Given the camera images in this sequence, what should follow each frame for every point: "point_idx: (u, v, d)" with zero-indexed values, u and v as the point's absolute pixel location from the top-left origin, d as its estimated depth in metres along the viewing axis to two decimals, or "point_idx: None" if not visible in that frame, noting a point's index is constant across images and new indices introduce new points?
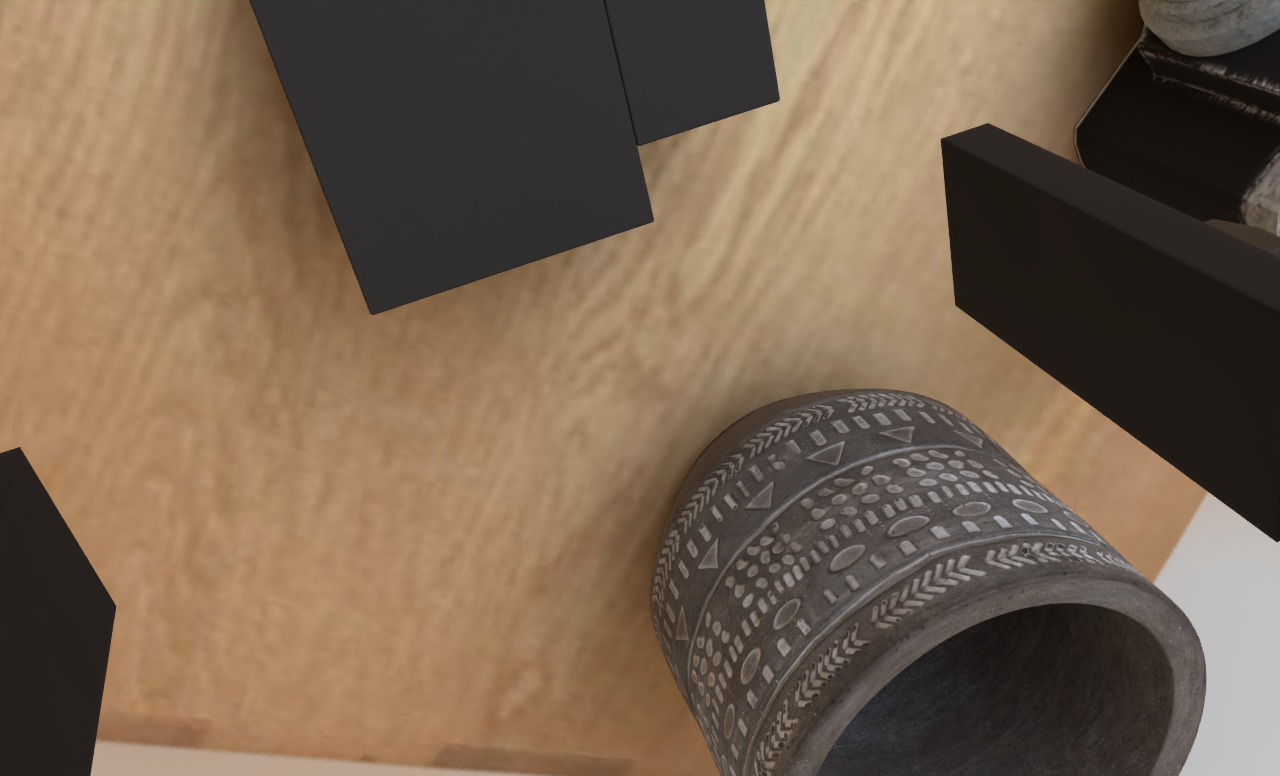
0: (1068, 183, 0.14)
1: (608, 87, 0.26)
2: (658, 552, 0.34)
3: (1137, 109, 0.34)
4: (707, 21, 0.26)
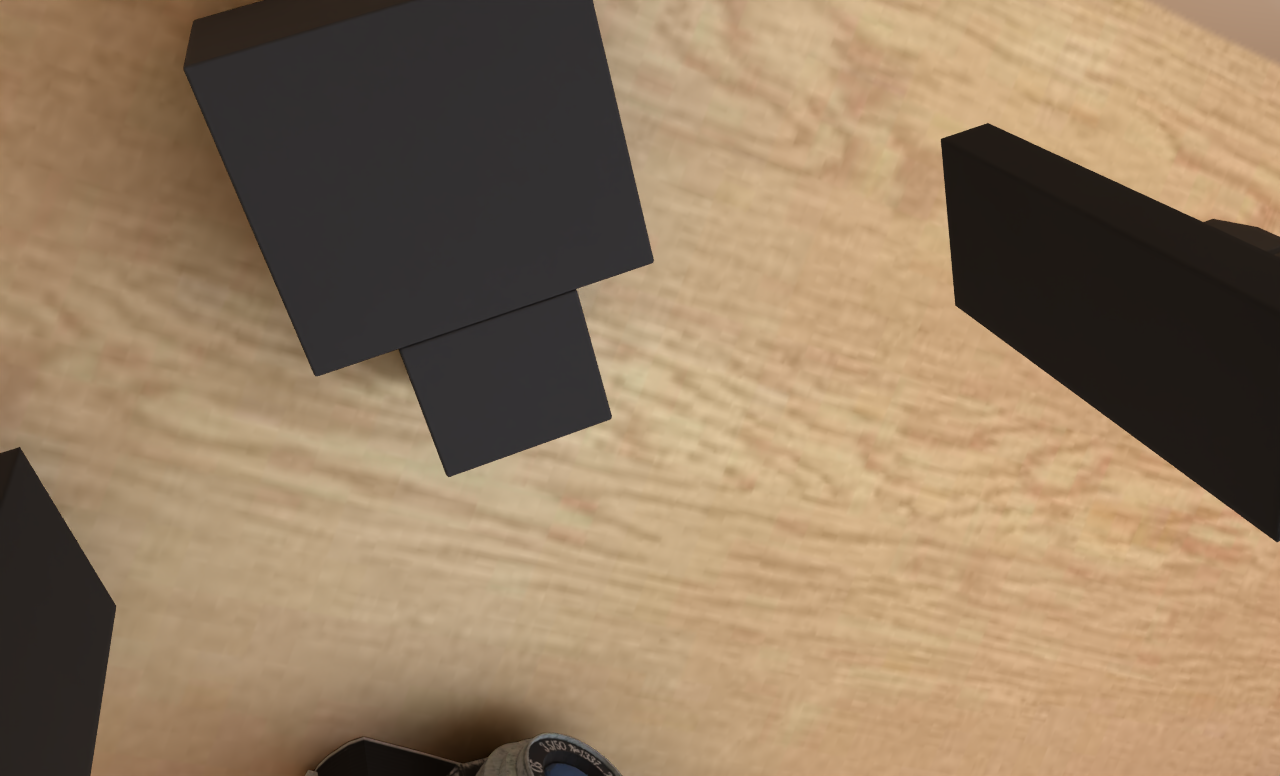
0: (1068, 183, 0.14)
1: (460, 314, 0.26)
2: None
3: None
4: (522, 397, 0.27)
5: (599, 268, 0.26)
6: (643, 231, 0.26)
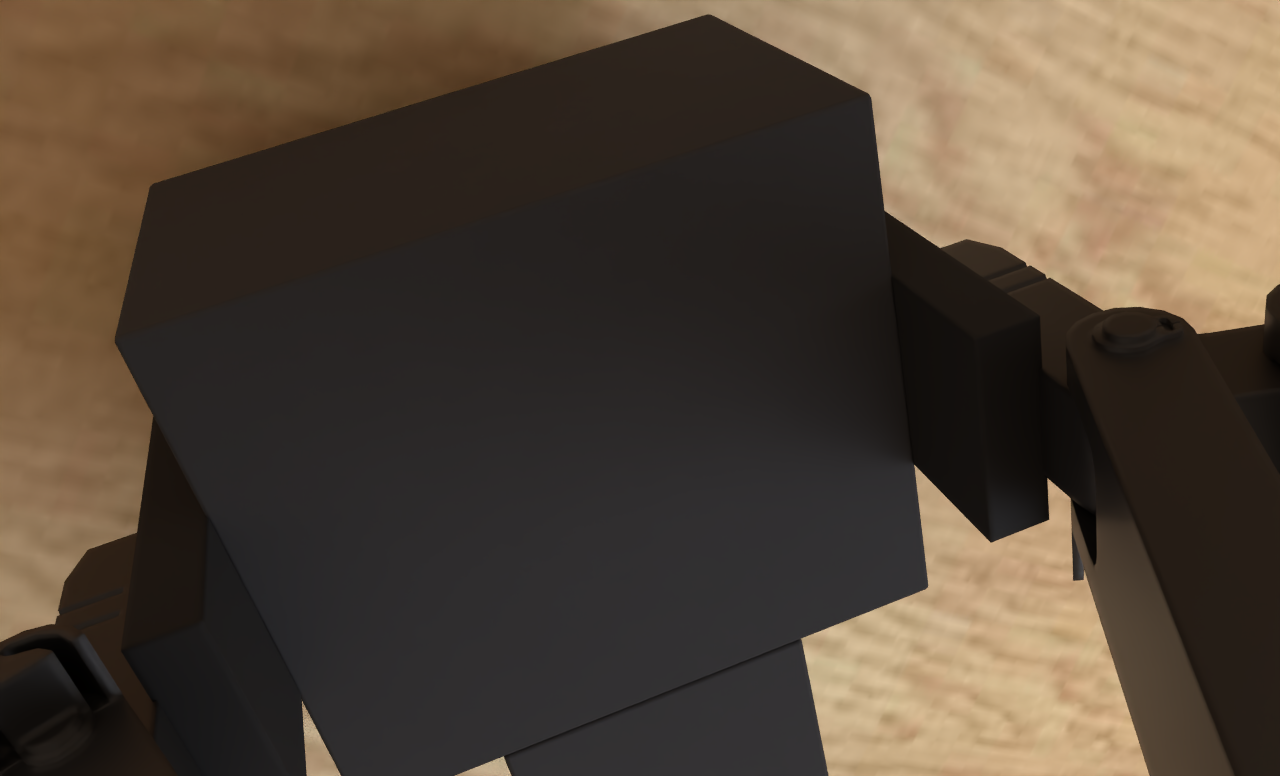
0: None
1: (609, 694, 0.15)
2: None
3: None
4: None
5: (842, 605, 0.15)
6: (918, 544, 0.15)
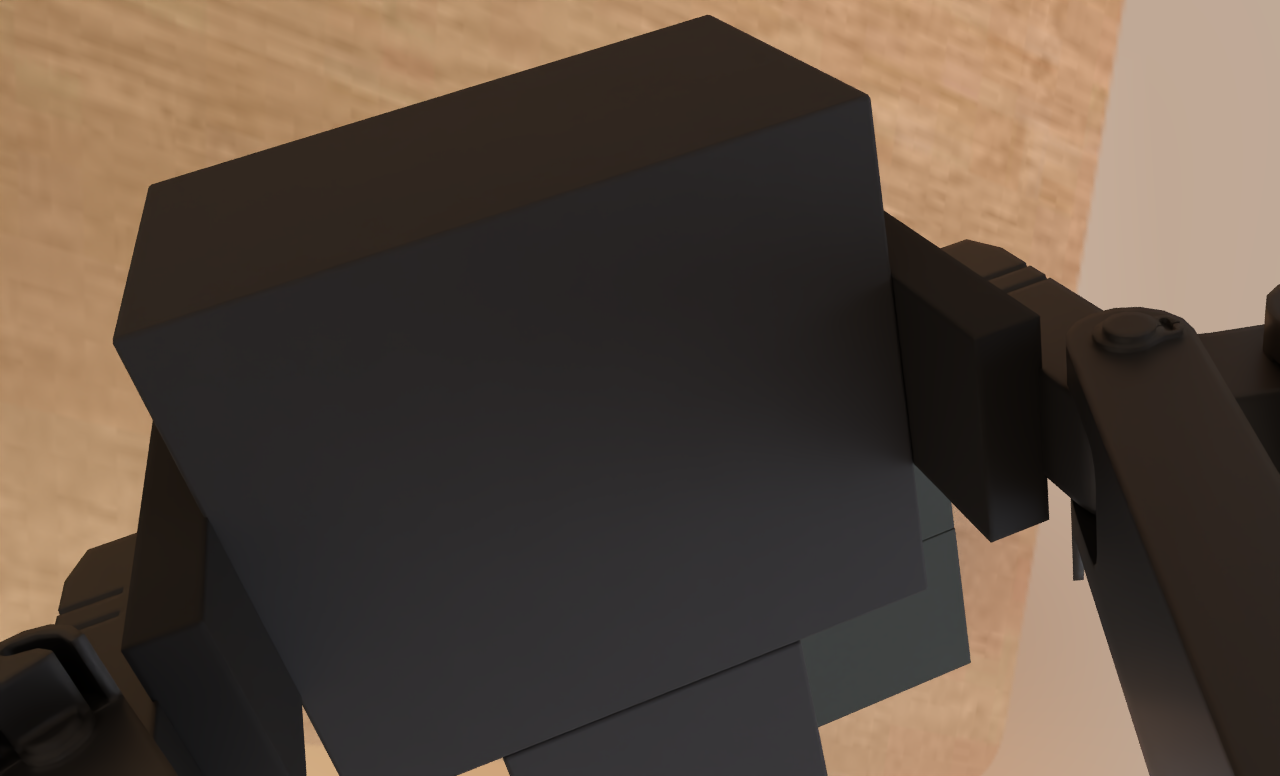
0: None
1: (608, 696, 0.15)
2: None
3: None
4: None
5: (841, 606, 0.15)
6: (918, 545, 0.15)
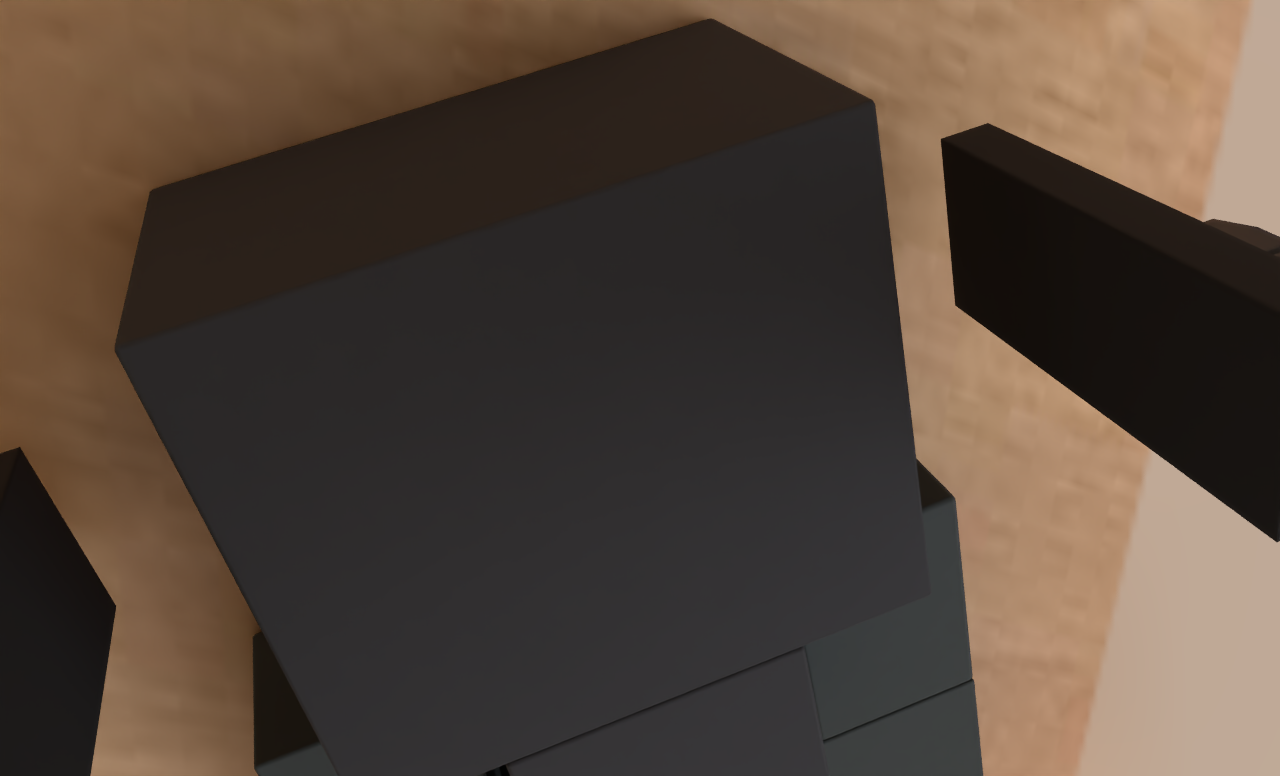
0: (1068, 183, 0.14)
1: (611, 702, 0.15)
2: None
3: None
4: None
5: (845, 612, 0.15)
6: (922, 551, 0.15)
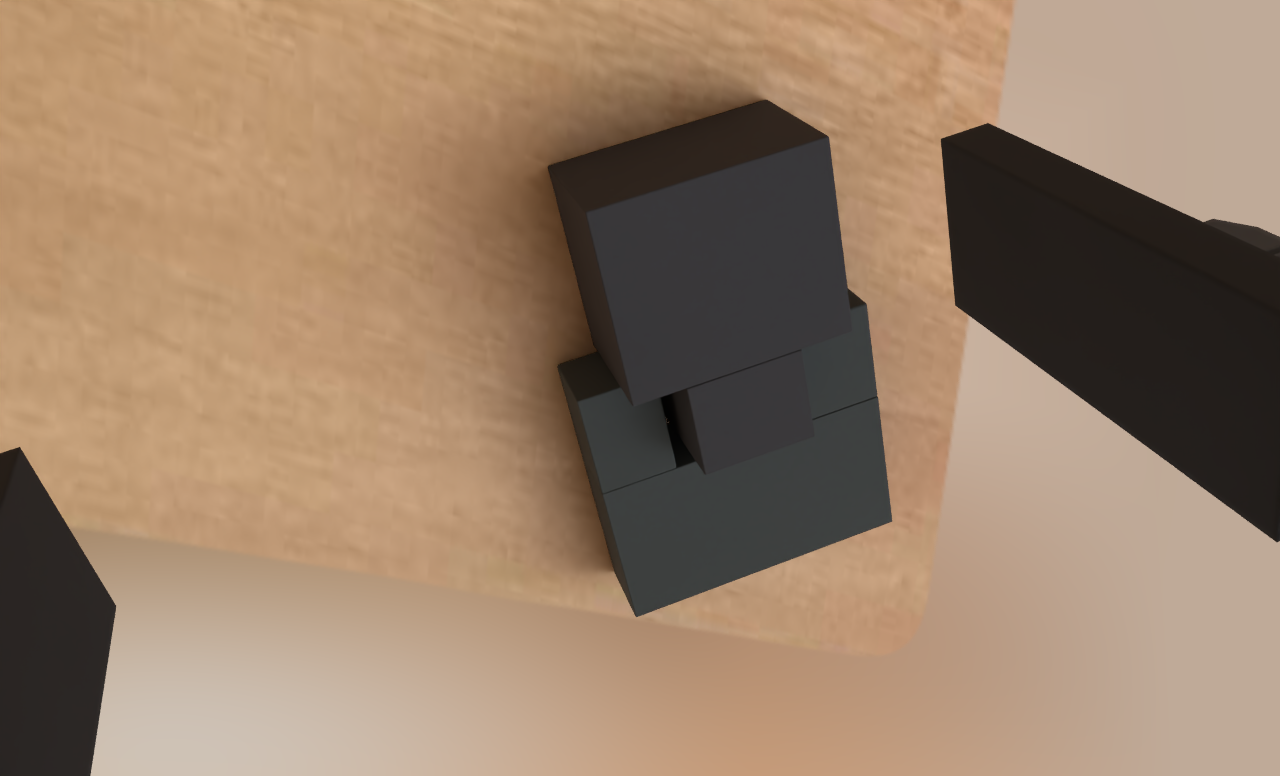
0: (1068, 183, 0.14)
1: (727, 365, 0.38)
2: None
3: None
4: (759, 421, 0.40)
5: (818, 335, 0.39)
6: (848, 311, 0.39)
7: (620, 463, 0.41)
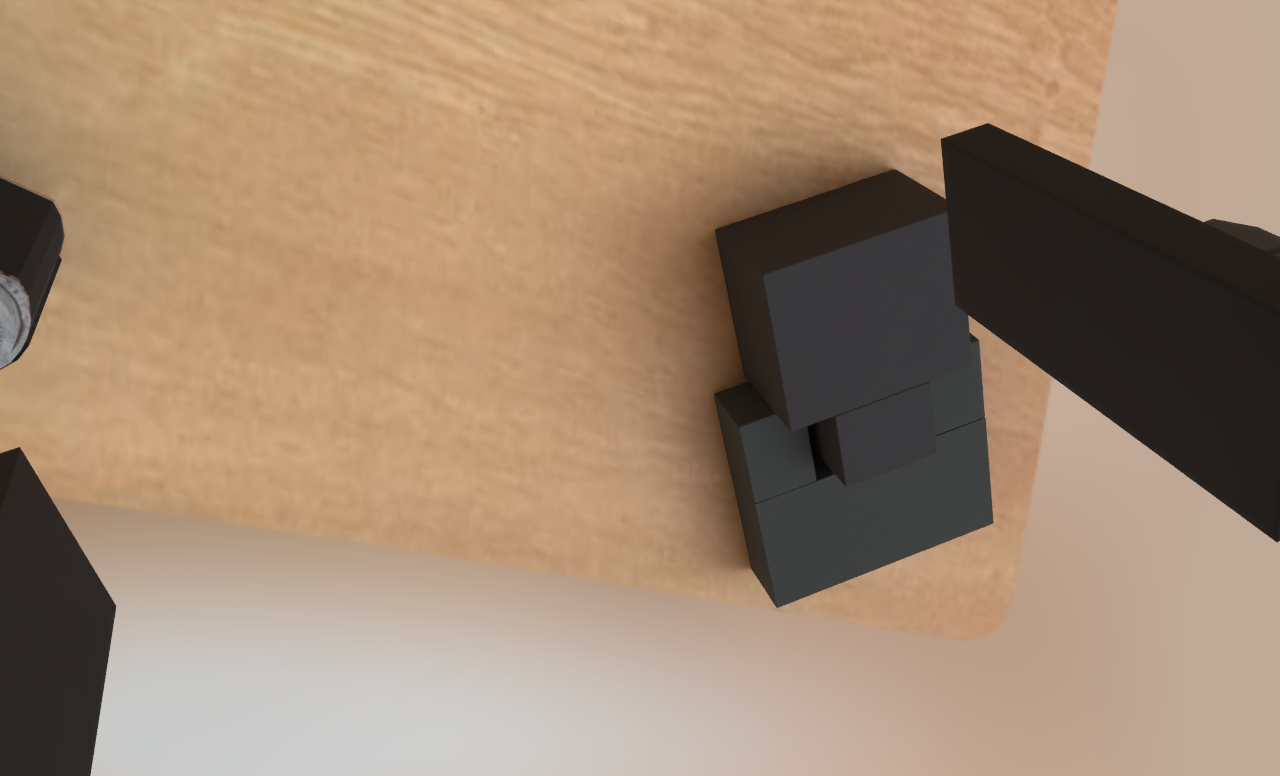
0: (1068, 183, 0.14)
1: (869, 396, 0.46)
2: None
3: None
4: (892, 441, 0.47)
5: (943, 369, 0.46)
6: (969, 348, 0.46)
7: (771, 477, 0.49)
